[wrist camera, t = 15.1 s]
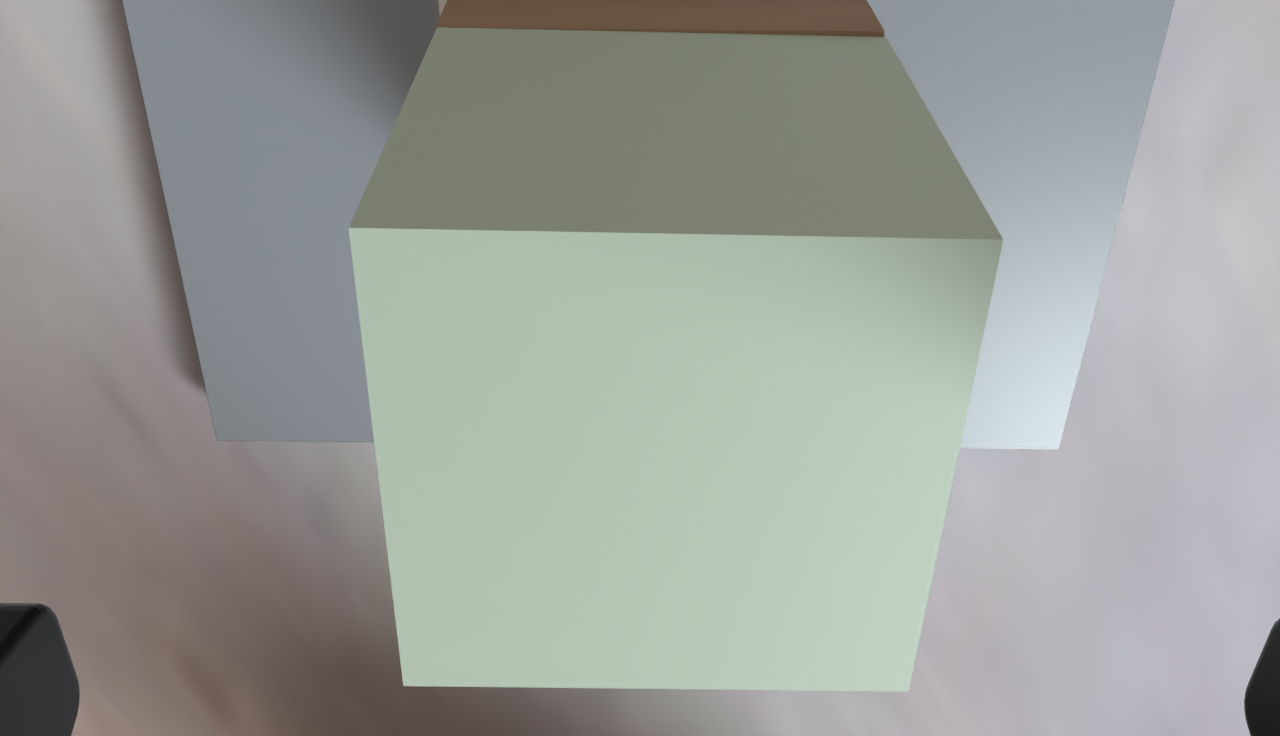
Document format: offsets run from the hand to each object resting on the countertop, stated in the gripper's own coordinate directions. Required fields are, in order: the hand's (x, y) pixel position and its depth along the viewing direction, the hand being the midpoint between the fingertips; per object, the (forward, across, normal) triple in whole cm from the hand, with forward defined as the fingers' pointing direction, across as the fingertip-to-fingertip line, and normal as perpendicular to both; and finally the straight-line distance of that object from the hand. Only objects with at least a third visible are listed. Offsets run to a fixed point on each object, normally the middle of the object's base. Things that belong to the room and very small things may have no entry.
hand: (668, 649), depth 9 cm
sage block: (+7, 0, 0) cm, 7 cm away
